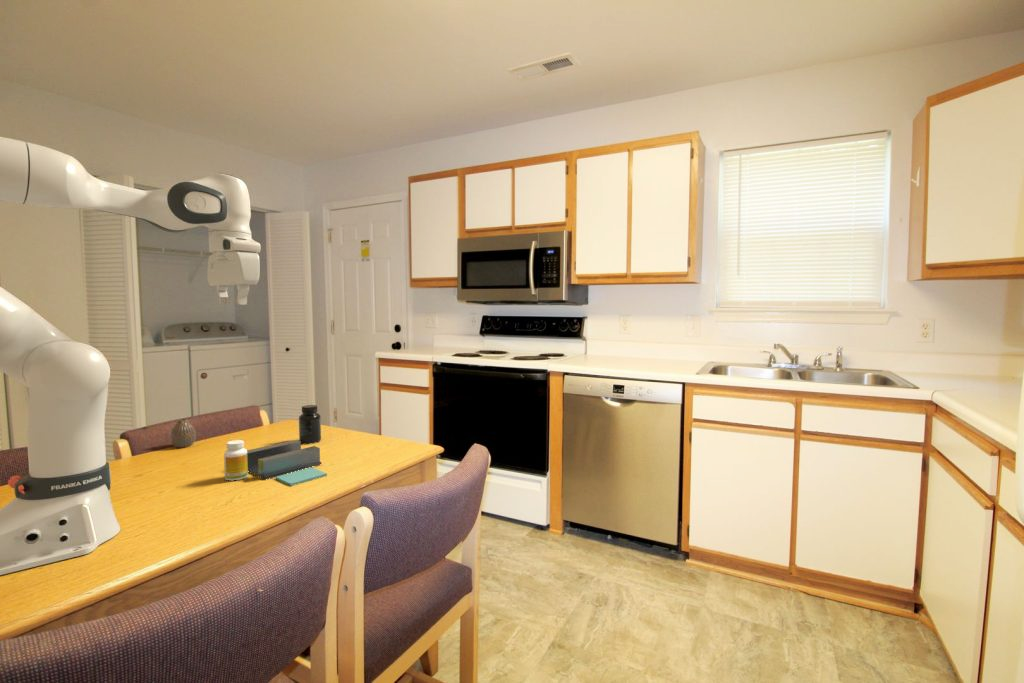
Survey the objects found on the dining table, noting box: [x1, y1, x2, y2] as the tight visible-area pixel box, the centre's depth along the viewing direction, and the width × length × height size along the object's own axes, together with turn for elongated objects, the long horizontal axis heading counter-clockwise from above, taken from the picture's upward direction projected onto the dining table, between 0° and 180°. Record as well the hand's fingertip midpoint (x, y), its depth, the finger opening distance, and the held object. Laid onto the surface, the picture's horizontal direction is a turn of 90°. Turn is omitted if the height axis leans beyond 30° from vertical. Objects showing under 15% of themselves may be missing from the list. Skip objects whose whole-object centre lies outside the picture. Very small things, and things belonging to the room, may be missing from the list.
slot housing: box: [246, 439, 322, 481], centre depth 140 cm, size 16×15×5 cm
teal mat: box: [275, 467, 328, 487], centre depth 131 cm, size 10×8×1 cm
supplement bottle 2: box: [298, 404, 322, 444], centre depth 166 cm, size 7×7×12 cm
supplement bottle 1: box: [223, 439, 249, 482], centre depth 130 cm, size 5×5×10 cm
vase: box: [169, 418, 197, 449], centre depth 159 cm, size 7×7×9 cm
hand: (233, 304), depth 117 cm, fingers open, 8 cm apart
